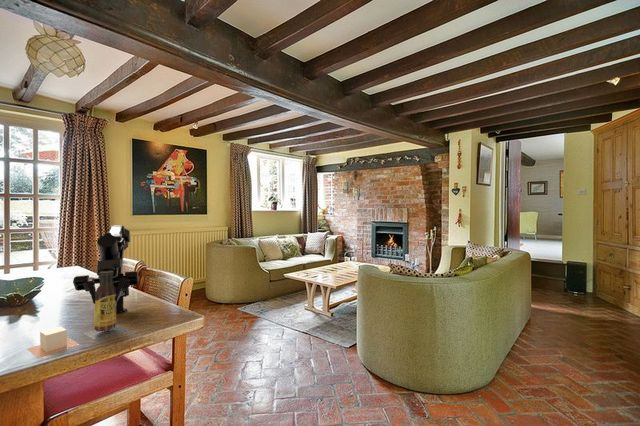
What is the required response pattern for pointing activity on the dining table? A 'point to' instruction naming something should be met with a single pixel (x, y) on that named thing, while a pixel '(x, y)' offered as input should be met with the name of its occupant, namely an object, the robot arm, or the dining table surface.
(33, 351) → the terracotta tile
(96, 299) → the sauce bottle
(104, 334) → the slate tile
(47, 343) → the cream block
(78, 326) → the dining table surface
